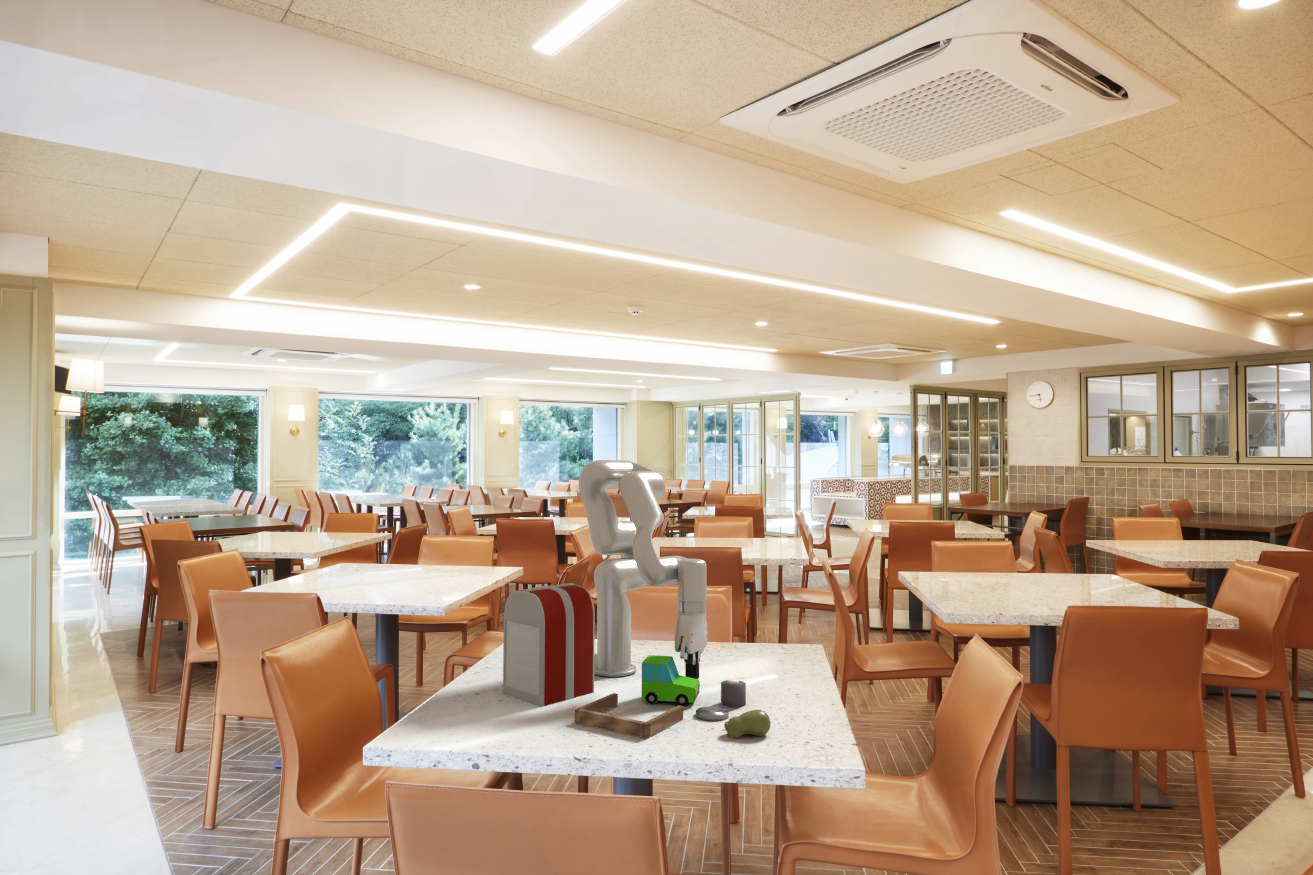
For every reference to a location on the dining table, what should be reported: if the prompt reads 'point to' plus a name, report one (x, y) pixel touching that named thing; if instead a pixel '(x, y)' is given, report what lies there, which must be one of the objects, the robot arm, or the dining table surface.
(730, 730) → the pear
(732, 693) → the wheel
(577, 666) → the red striped mailbox
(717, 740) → the dining table surface
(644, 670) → the toy car
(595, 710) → the bay
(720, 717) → the shallow metal dish
